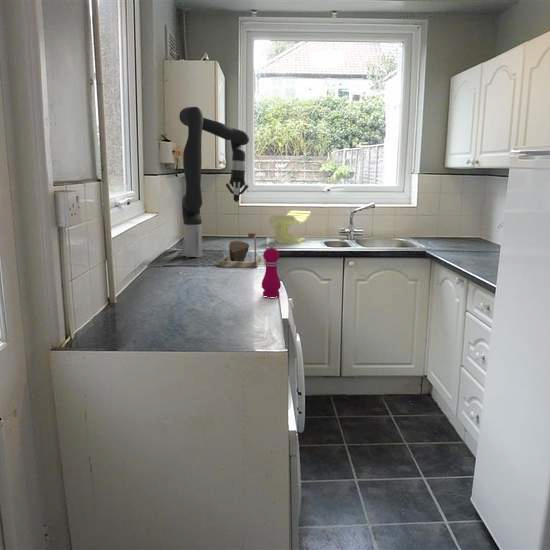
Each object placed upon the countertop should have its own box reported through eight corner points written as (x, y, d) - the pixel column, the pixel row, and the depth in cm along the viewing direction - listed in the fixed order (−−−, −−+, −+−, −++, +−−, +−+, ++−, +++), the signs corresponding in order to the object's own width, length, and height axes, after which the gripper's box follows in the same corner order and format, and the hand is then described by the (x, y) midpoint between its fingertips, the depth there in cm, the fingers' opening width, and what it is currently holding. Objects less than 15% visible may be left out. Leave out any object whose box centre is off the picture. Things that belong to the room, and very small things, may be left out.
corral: (219, 266, 247) (218, 232, 243) (226, 260, 263) (225, 227, 259) (256, 267, 245) (256, 233, 242) (261, 260, 261) (261, 228, 258)
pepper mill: (269, 292, 200) (270, 242, 196) (284, 296, 196) (285, 244, 191) (257, 296, 195) (257, 244, 190) (272, 299, 190) (272, 246, 186)
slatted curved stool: (287, 237, 338) (287, 210, 334) (310, 239, 332) (311, 211, 328) (269, 244, 311) (269, 214, 307) (293, 246, 305) (293, 216, 301)
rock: (238, 256, 248) (223, 243, 250) (231, 270, 254) (217, 258, 257) (253, 246, 257) (238, 234, 259) (246, 260, 264) (232, 248, 266)
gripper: (224, 168, 277) (223, 201, 280) (249, 170, 276) (247, 202, 279) (227, 169, 284) (225, 200, 287) (251, 170, 283) (249, 202, 286)
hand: (236, 201), depth 283 cm, fingers closed
